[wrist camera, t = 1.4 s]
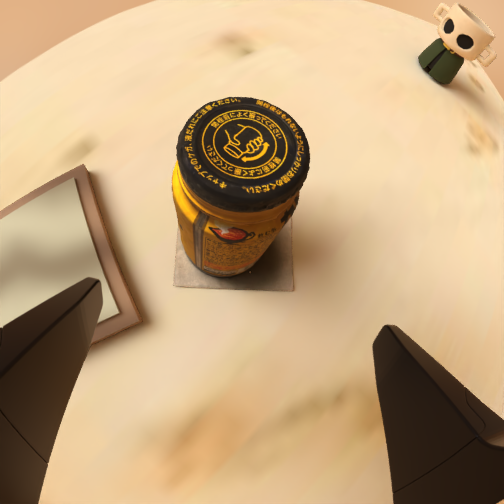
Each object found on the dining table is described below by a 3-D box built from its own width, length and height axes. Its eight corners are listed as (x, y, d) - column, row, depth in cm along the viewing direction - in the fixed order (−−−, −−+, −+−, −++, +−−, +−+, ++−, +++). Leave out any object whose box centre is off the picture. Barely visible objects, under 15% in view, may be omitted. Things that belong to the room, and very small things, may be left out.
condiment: (181, 190, 23) (172, 75, 11) (290, 199, 24) (356, 99, 13) (173, 286, 21) (140, 233, 9) (291, 291, 22) (381, 248, 11)
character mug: (397, 48, 34) (437, -10, 21) (419, 46, 36) (455, -4, 23) (447, 101, 32) (499, 48, 20) (463, 95, 34) (509, 48, 22)
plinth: (142, 321, 20) (138, 320, 18) (11, 380, 17) (1, 382, 15) (87, 170, 22) (82, 162, 20) (-25, 237, 19) (-34, 232, 17)
